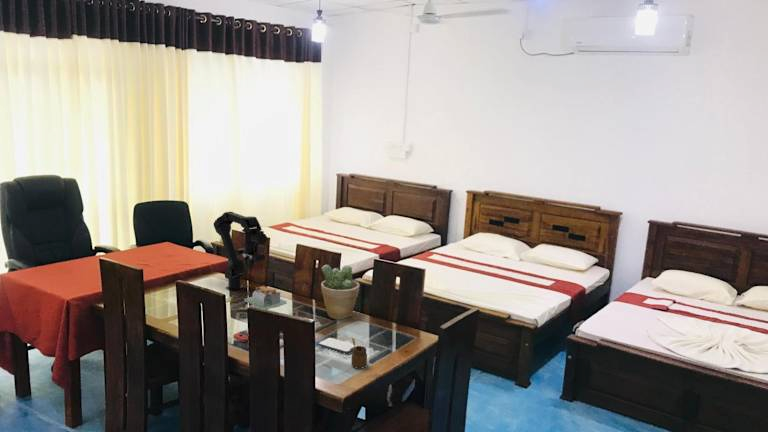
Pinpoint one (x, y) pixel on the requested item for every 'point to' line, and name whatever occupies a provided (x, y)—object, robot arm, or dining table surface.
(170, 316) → the dining table surface
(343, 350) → the phone case
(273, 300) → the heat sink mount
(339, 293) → the potted plant
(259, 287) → the orange brown bar
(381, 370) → the dining table surface
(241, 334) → the gaming console
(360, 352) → the utensil holder
